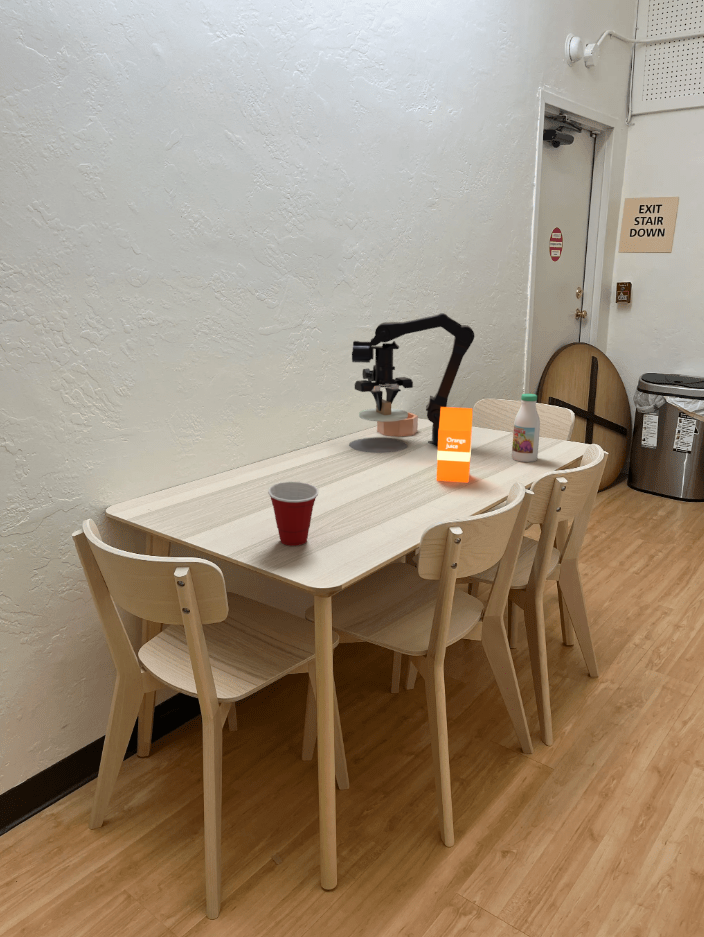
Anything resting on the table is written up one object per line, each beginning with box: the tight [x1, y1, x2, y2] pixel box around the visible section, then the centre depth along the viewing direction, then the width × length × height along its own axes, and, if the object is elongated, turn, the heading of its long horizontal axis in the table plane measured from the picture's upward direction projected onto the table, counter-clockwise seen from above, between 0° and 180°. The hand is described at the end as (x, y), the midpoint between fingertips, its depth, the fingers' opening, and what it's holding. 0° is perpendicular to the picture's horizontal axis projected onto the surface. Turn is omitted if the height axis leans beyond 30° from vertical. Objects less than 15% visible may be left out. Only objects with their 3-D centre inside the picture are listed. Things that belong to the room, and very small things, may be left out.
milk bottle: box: [511, 393, 541, 463], centre depth 215 cm, size 8×8×20 cm
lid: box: [358, 398, 409, 422], centre depth 233 cm, size 16×16×5 cm
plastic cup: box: [267, 481, 319, 547], centre depth 153 cm, size 11×11×12 cm
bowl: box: [376, 412, 419, 438], centre depth 249 cm, size 13×13×6 cm
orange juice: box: [436, 406, 473, 483], centre depth 197 cm, size 8×9×20 cm
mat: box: [348, 437, 408, 454], centre depth 232 cm, size 19×19×1 cm
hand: (383, 410), depth 233 cm, fingers closed on lid, 2 cm apart
